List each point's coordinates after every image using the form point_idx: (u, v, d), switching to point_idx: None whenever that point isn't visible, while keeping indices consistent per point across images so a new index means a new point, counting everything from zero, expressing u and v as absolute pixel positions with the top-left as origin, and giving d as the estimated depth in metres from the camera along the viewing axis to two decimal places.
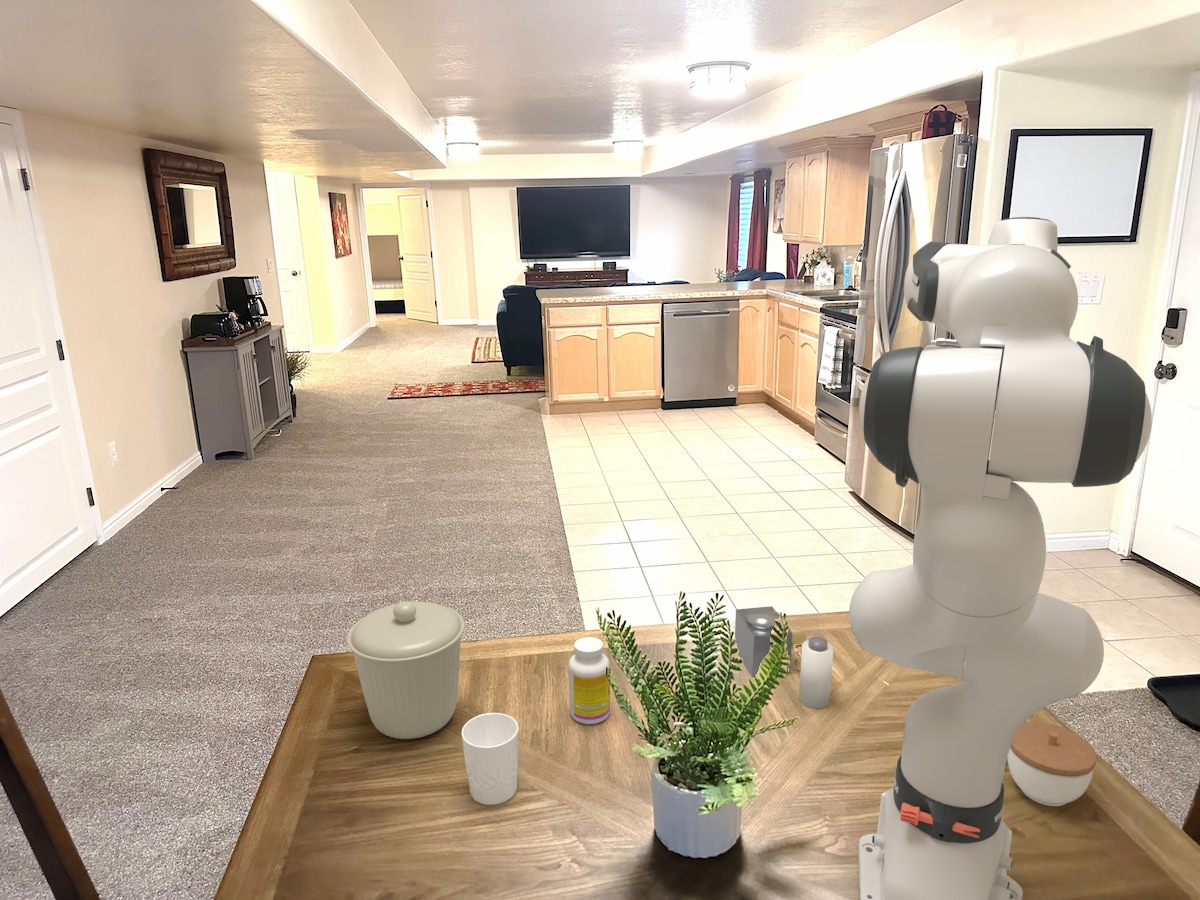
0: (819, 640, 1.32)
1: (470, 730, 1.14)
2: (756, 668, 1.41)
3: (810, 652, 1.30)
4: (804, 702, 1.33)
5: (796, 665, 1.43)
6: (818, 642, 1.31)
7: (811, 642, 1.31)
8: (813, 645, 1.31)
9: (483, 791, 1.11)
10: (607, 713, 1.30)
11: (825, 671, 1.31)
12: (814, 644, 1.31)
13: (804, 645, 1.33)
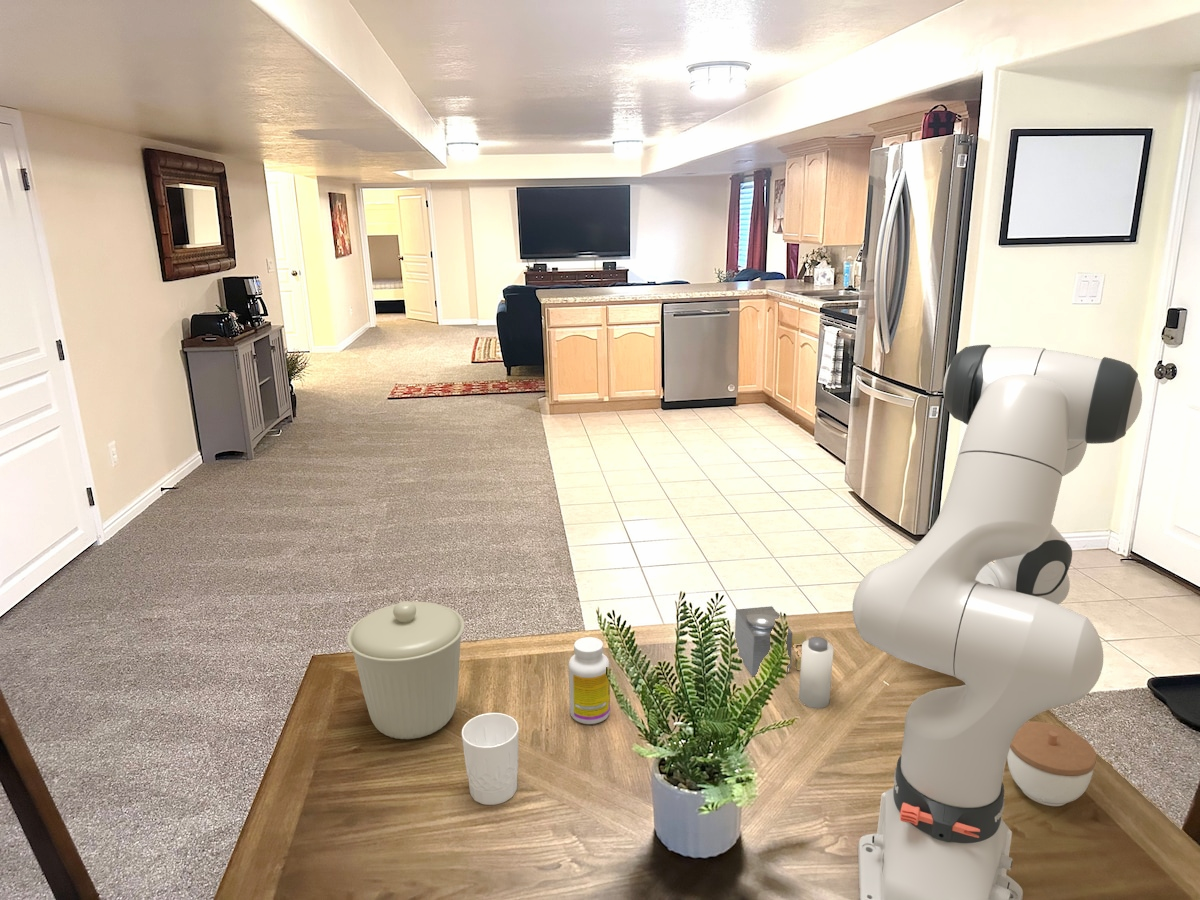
0: (819, 640, 1.32)
1: (470, 730, 1.14)
2: (756, 668, 1.41)
3: (810, 652, 1.30)
4: (804, 702, 1.33)
5: (796, 665, 1.43)
6: (818, 642, 1.31)
7: (811, 642, 1.31)
8: (813, 645, 1.31)
9: (483, 791, 1.11)
10: (607, 713, 1.30)
11: (825, 671, 1.31)
12: (814, 644, 1.31)
13: (804, 645, 1.33)
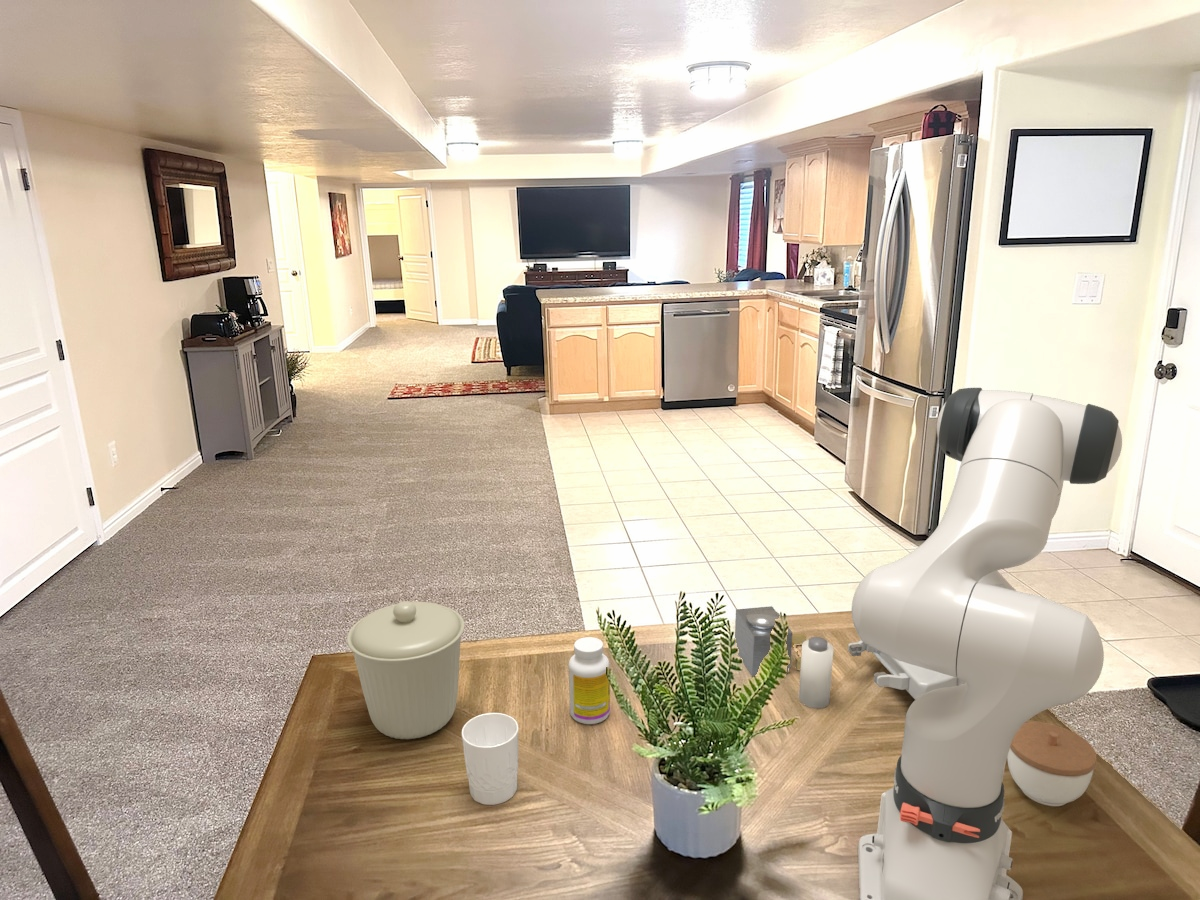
0: (819, 640, 1.32)
1: (470, 730, 1.14)
2: (756, 668, 1.41)
3: (810, 652, 1.30)
4: (804, 702, 1.33)
5: (796, 665, 1.43)
6: (818, 642, 1.31)
7: (811, 642, 1.31)
8: (813, 645, 1.31)
9: (483, 791, 1.11)
10: (607, 713, 1.30)
11: (825, 671, 1.31)
12: (814, 644, 1.31)
13: (804, 645, 1.33)
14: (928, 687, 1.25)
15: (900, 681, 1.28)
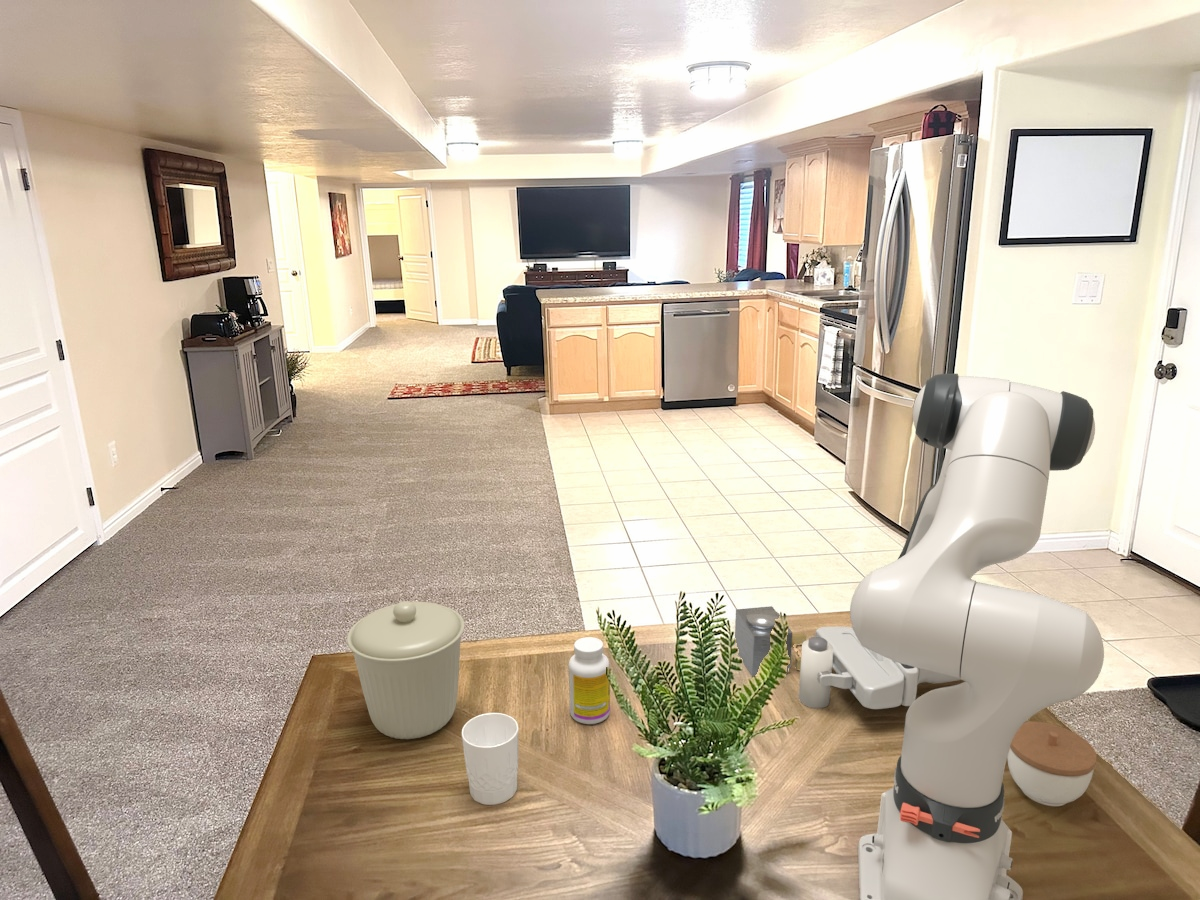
0: (819, 640, 1.32)
1: (470, 730, 1.14)
2: (756, 668, 1.41)
3: (810, 652, 1.30)
4: (804, 702, 1.33)
5: (796, 665, 1.43)
6: (818, 642, 1.31)
7: (811, 642, 1.31)
8: (813, 645, 1.31)
9: (483, 791, 1.11)
10: (607, 713, 1.30)
11: None
12: (814, 644, 1.31)
13: (804, 644, 1.33)
14: (874, 691, 1.24)
15: (843, 680, 1.29)
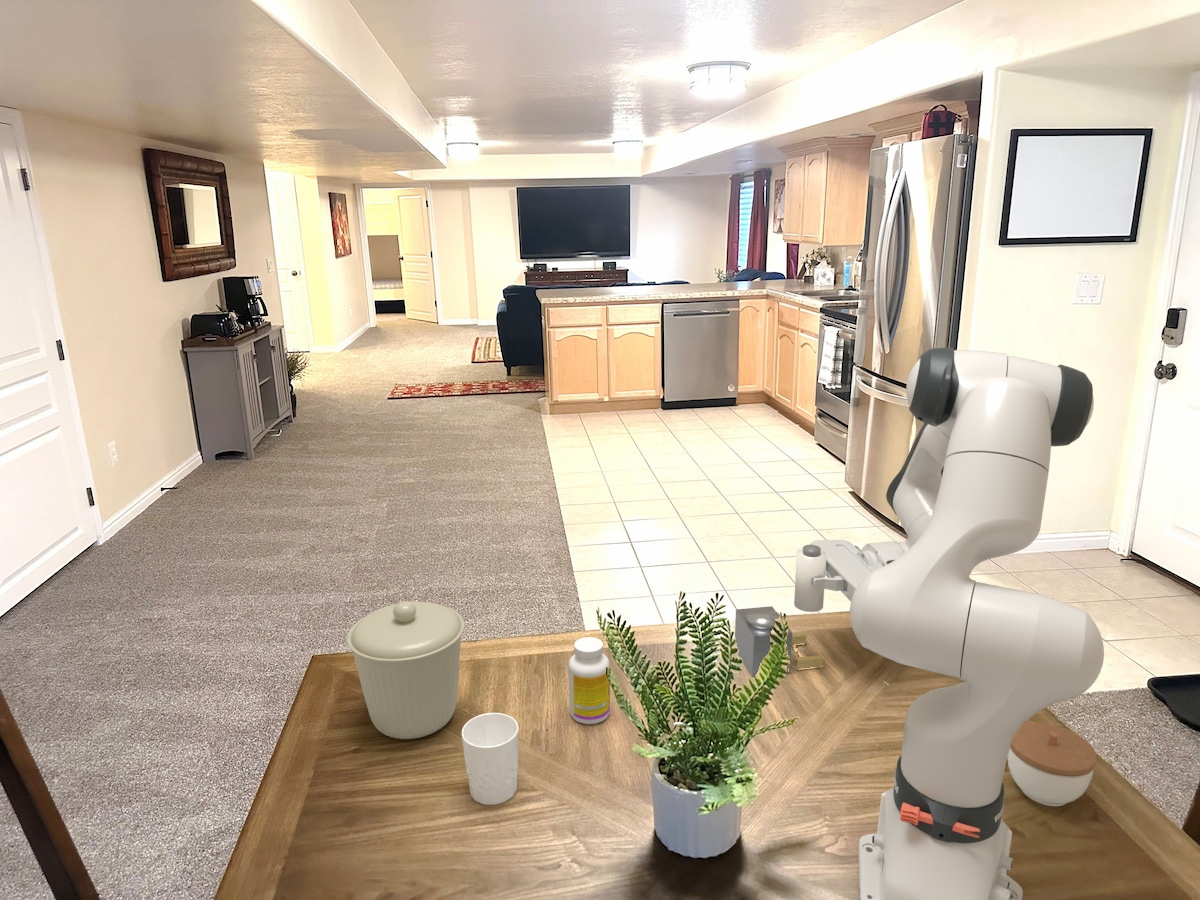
0: (813, 547, 1.39)
1: (470, 730, 1.14)
2: (756, 668, 1.41)
3: (804, 558, 1.38)
4: (799, 606, 1.41)
5: (796, 665, 1.43)
6: (812, 549, 1.39)
7: (805, 549, 1.39)
8: (807, 551, 1.38)
9: (483, 791, 1.11)
10: (607, 713, 1.30)
11: None
12: (808, 550, 1.38)
13: (799, 552, 1.40)
14: None
15: (835, 583, 1.36)
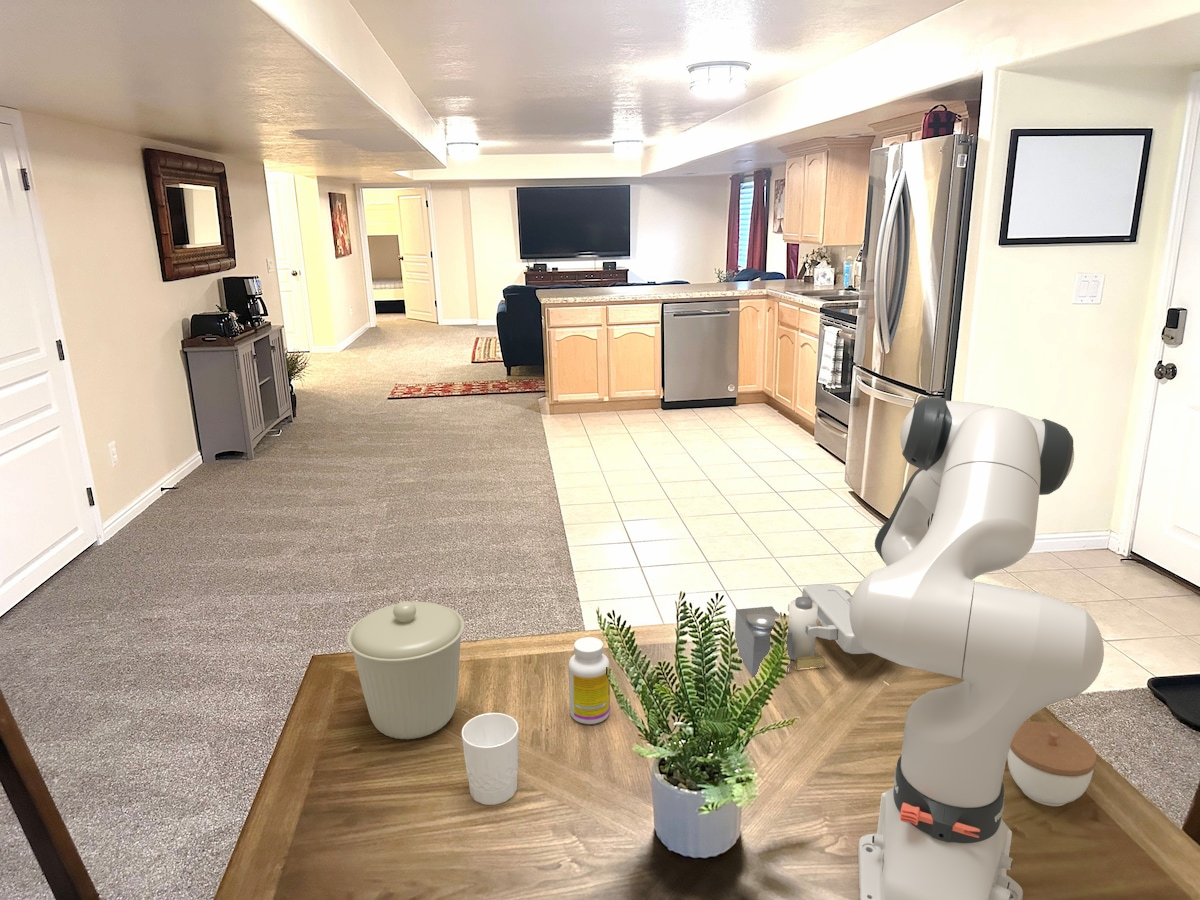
0: (805, 599, 1.45)
1: (470, 730, 1.14)
2: (756, 668, 1.41)
3: (797, 610, 1.43)
4: (791, 656, 1.46)
5: (796, 665, 1.43)
6: (804, 601, 1.44)
7: (797, 601, 1.44)
8: (799, 604, 1.44)
9: (483, 791, 1.11)
10: (607, 713, 1.30)
11: None
12: (800, 603, 1.44)
13: (792, 604, 1.46)
14: (854, 637, 1.37)
15: (828, 632, 1.41)
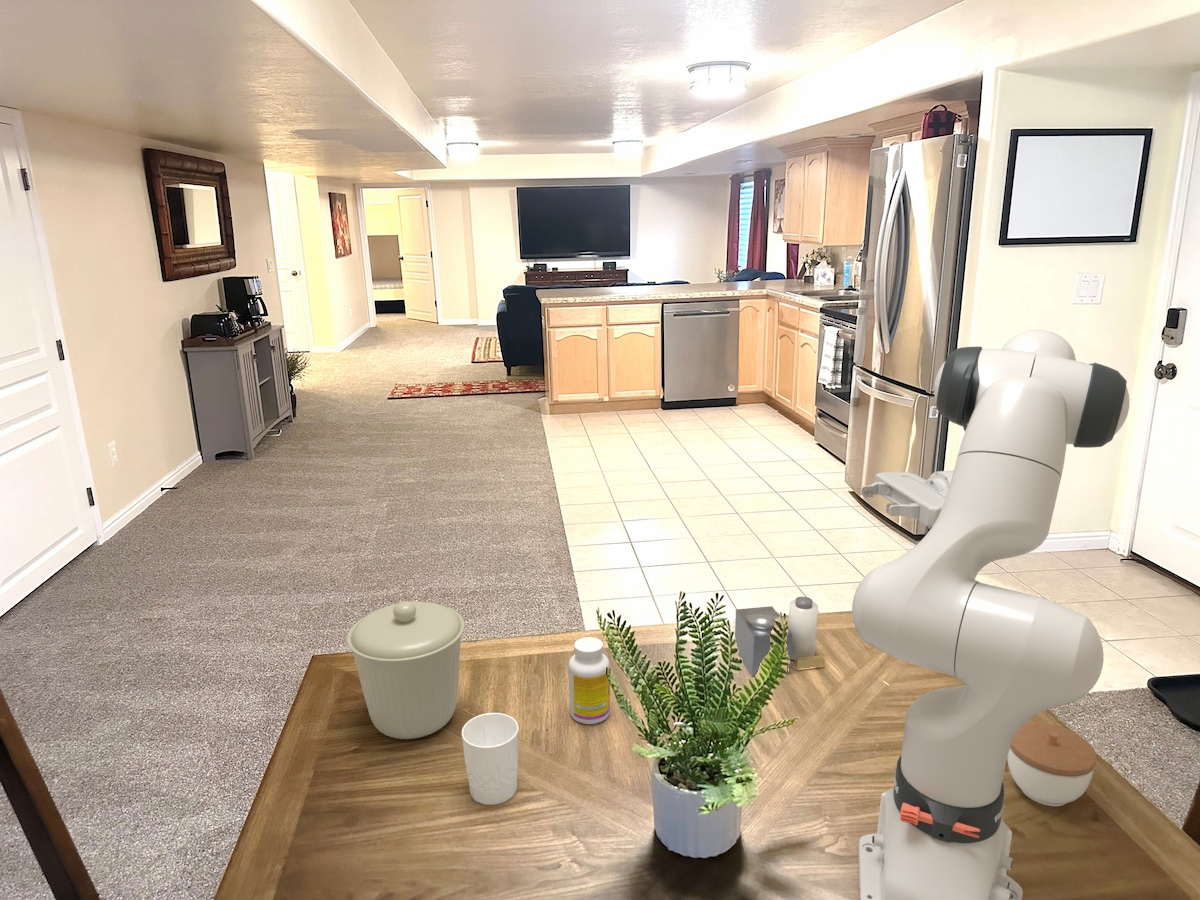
0: (805, 599, 1.45)
1: (470, 730, 1.14)
2: (756, 668, 1.41)
3: (797, 610, 1.43)
4: (791, 656, 1.46)
5: (796, 665, 1.43)
6: (804, 601, 1.44)
7: (797, 601, 1.45)
8: (799, 604, 1.44)
9: (483, 791, 1.11)
10: (607, 713, 1.30)
11: (810, 627, 1.44)
12: (800, 602, 1.44)
13: (792, 603, 1.46)
14: (938, 510, 1.32)
15: (911, 509, 1.35)
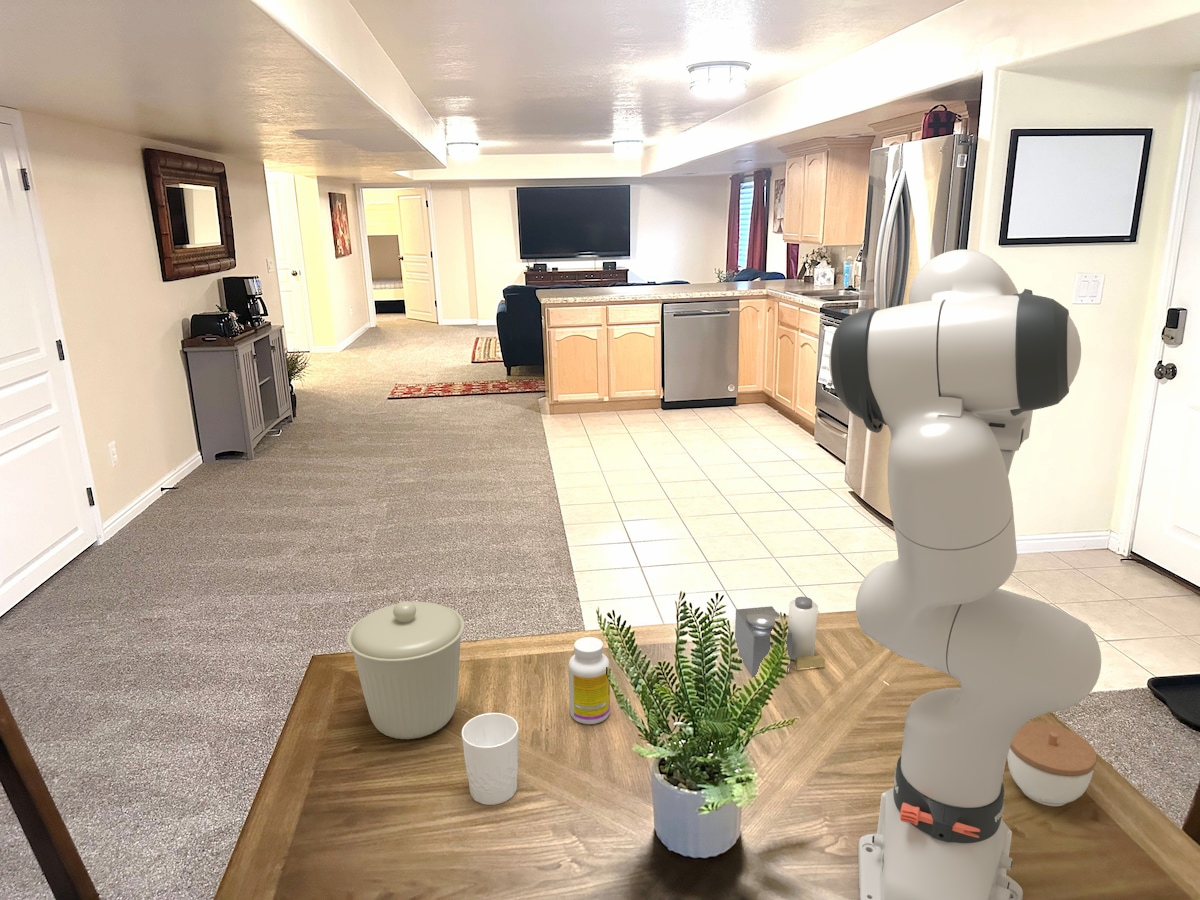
0: (805, 599, 1.45)
1: (470, 730, 1.14)
2: (756, 668, 1.41)
3: (796, 610, 1.43)
4: (791, 656, 1.46)
5: (796, 665, 1.43)
6: (804, 601, 1.44)
7: (797, 601, 1.45)
8: (799, 604, 1.44)
9: (483, 791, 1.11)
10: (607, 713, 1.30)
11: (810, 627, 1.44)
12: (800, 602, 1.44)
13: (791, 604, 1.46)
14: None
15: None
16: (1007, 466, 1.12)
